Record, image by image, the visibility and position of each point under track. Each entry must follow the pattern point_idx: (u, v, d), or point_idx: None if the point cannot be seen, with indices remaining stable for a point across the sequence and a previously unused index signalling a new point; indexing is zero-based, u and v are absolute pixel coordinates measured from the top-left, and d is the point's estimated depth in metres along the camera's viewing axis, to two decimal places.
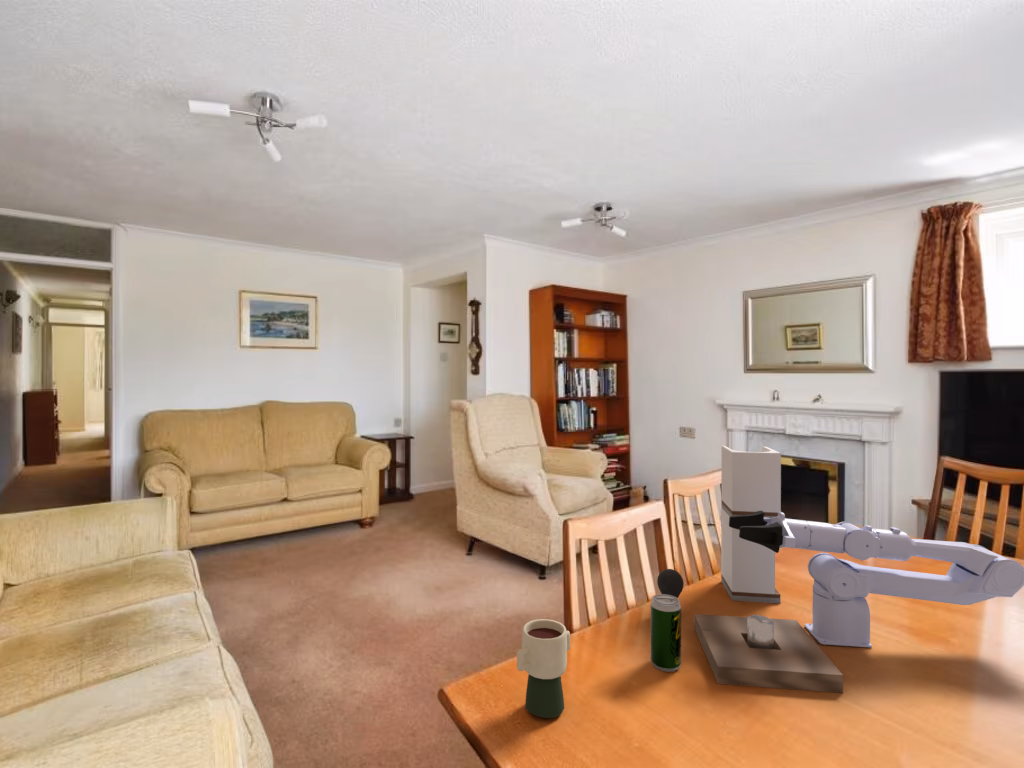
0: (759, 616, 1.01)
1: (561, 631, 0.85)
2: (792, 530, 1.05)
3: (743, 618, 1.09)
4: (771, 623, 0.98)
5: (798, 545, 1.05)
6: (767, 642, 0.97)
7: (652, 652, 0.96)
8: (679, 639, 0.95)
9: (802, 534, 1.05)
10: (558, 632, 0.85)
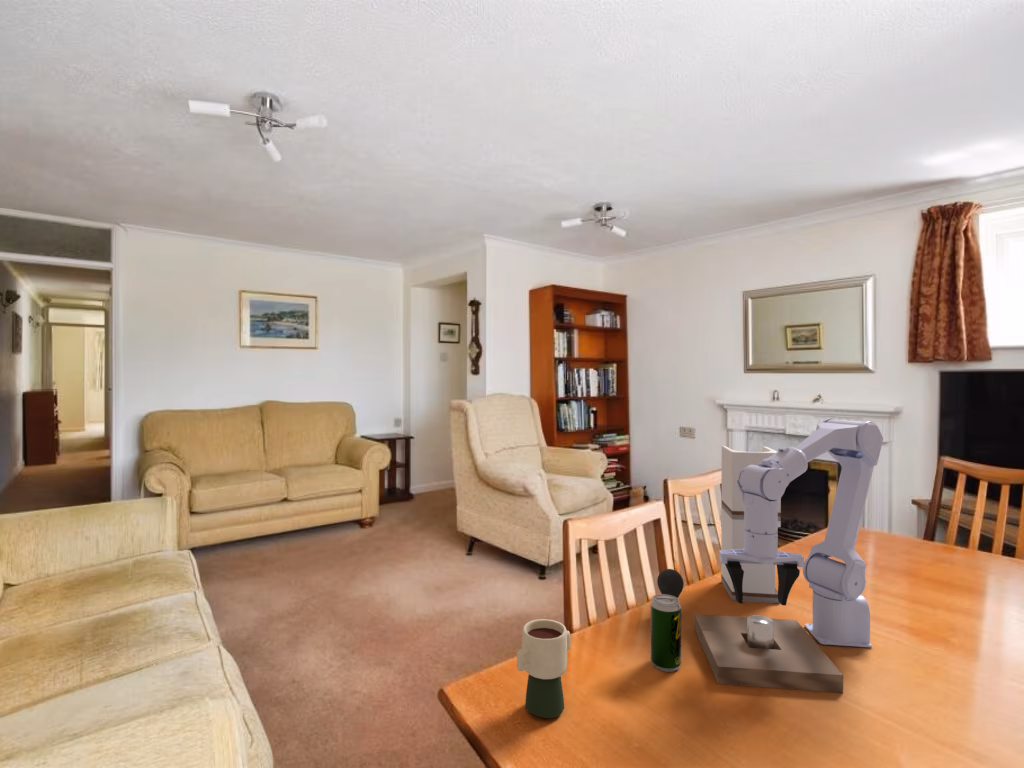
0: (759, 616, 1.01)
1: (561, 631, 0.85)
2: (777, 550, 0.97)
3: (743, 618, 1.09)
4: (771, 623, 0.98)
5: None
6: (767, 642, 0.97)
7: (652, 652, 0.96)
8: (679, 639, 0.95)
9: (777, 539, 0.98)
10: (558, 632, 0.85)
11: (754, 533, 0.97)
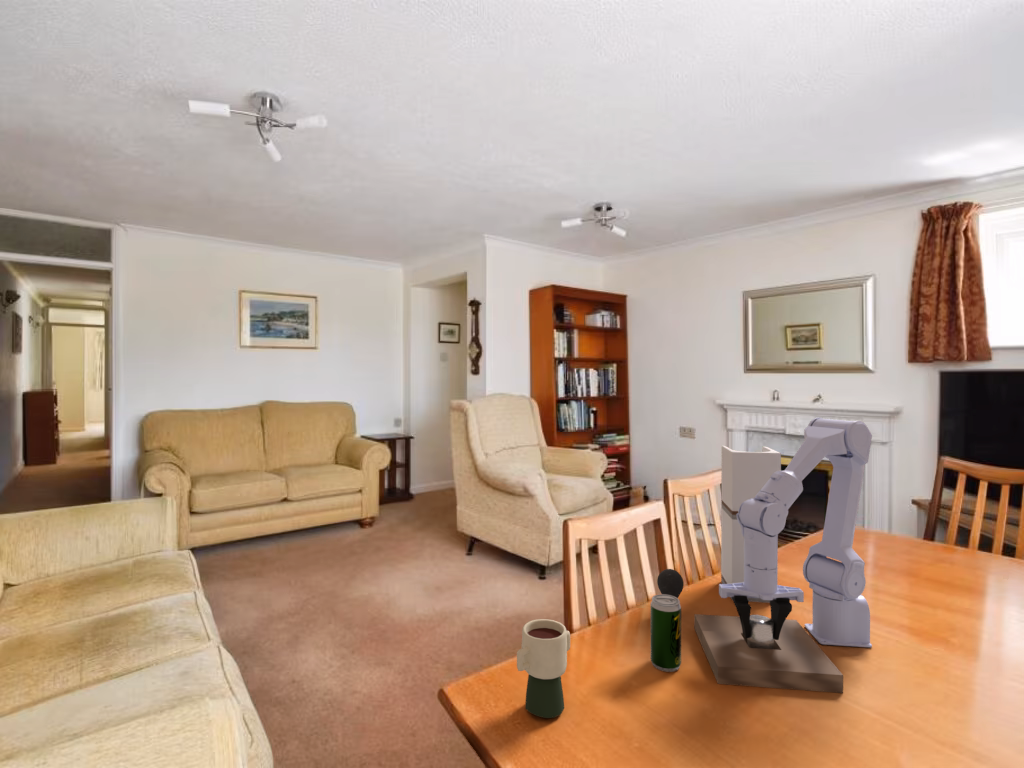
0: (759, 616, 1.01)
1: (561, 631, 0.85)
2: (777, 585, 0.97)
3: None
4: (771, 623, 0.98)
5: None
6: (767, 642, 0.97)
7: (652, 652, 0.96)
8: (679, 639, 0.95)
9: None
10: (558, 632, 0.85)
11: (754, 568, 0.97)
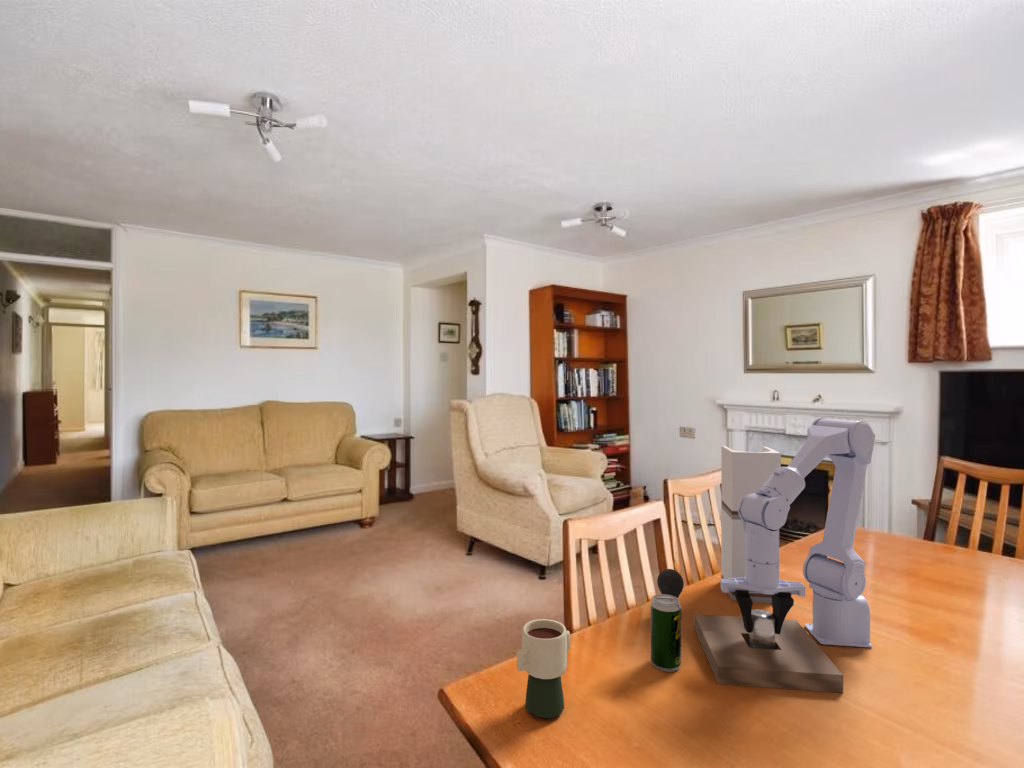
0: (761, 611, 1.01)
1: (561, 631, 0.85)
2: (778, 580, 0.97)
3: None
4: (773, 617, 0.98)
5: None
6: (769, 637, 0.97)
7: (652, 652, 0.96)
8: (679, 639, 0.95)
9: None
10: (558, 632, 0.85)
11: (755, 563, 0.97)
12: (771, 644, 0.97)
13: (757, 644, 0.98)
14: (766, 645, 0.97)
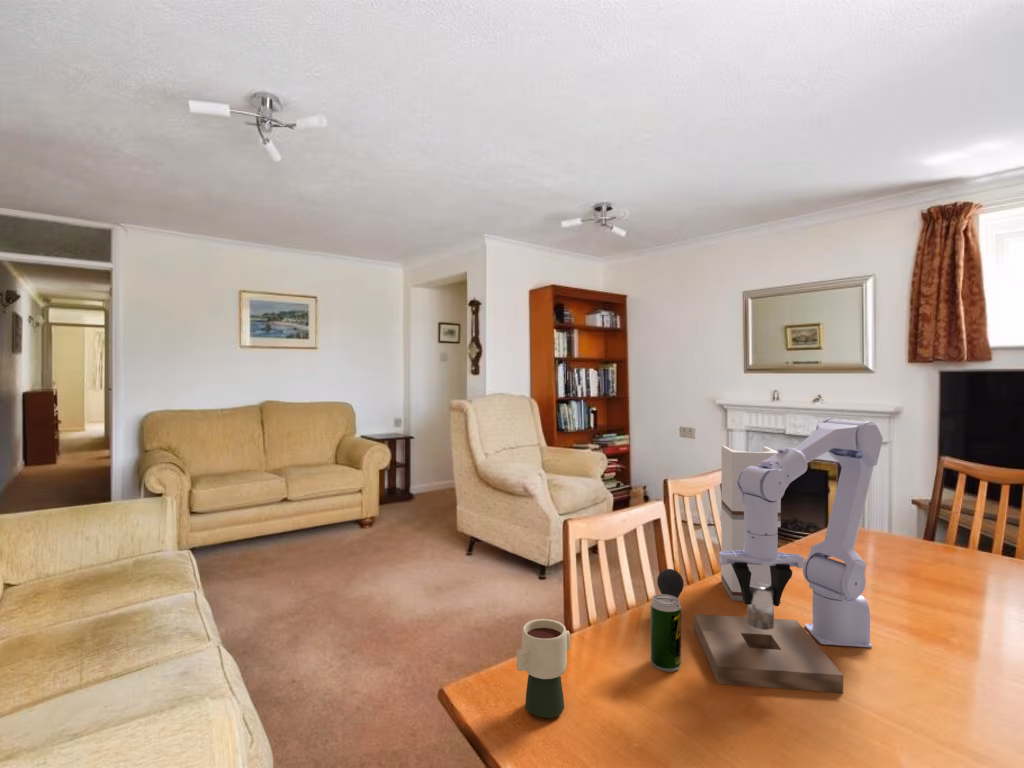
0: (759, 583, 1.01)
1: (561, 631, 0.85)
2: (777, 551, 0.97)
3: (743, 618, 1.09)
4: (771, 589, 0.98)
5: None
6: (768, 608, 0.97)
7: (652, 652, 0.96)
8: (679, 639, 0.95)
9: (777, 540, 0.98)
10: (558, 632, 0.85)
11: (754, 534, 0.97)
12: (770, 616, 0.97)
13: (756, 615, 0.98)
14: (765, 617, 0.97)
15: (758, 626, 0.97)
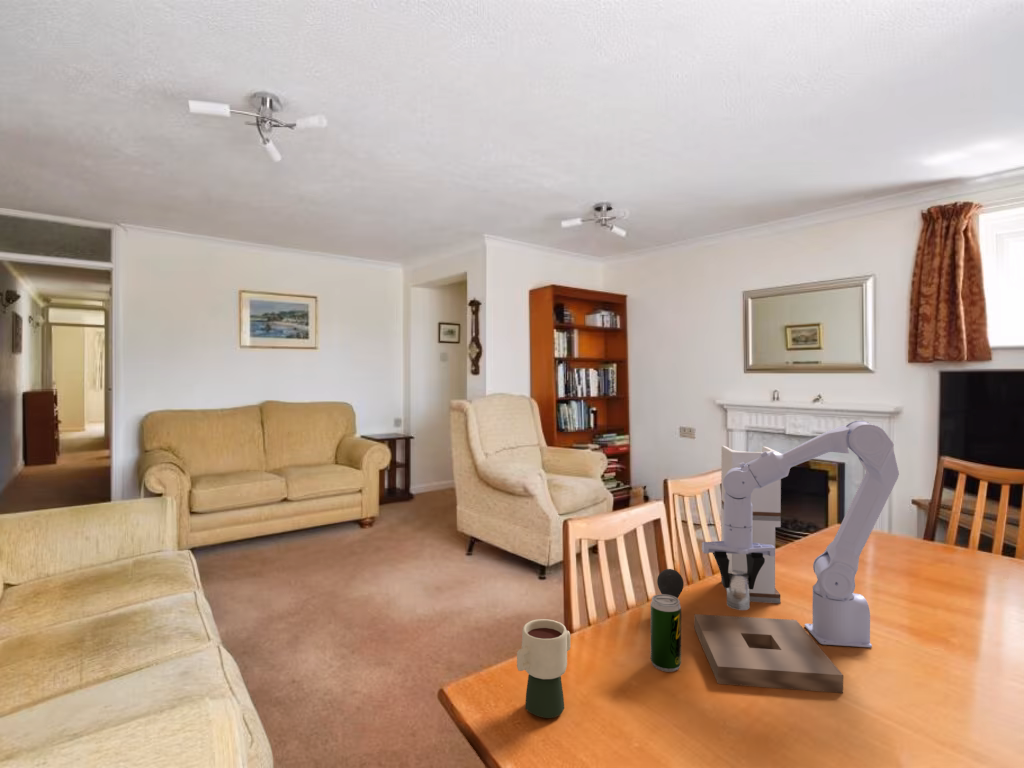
0: (737, 570, 1.15)
1: (561, 631, 0.85)
2: None
3: (743, 618, 1.09)
4: (747, 575, 1.13)
5: None
6: (744, 591, 1.12)
7: (652, 652, 0.96)
8: (679, 639, 0.95)
9: None
10: (558, 632, 0.85)
11: (732, 527, 1.12)
12: (745, 598, 1.12)
13: (734, 598, 1.12)
14: (741, 599, 1.12)
15: (736, 607, 1.12)
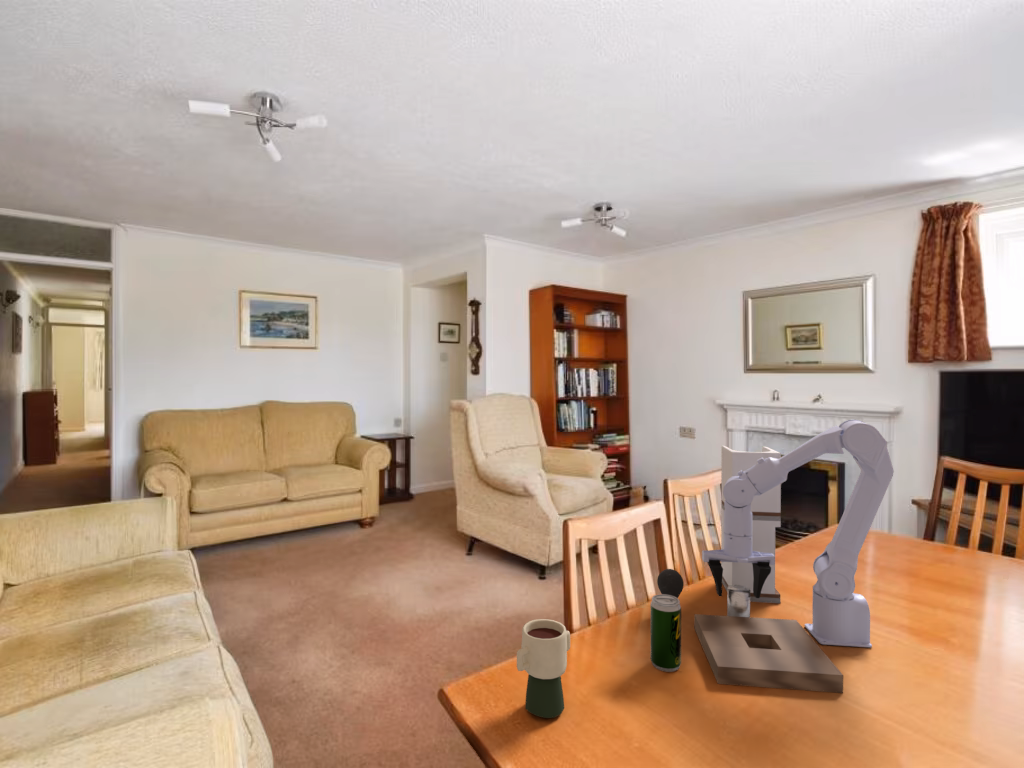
0: (738, 586, 1.15)
1: (561, 631, 0.85)
2: None
3: (743, 618, 1.09)
4: (748, 591, 1.12)
5: None
6: (744, 607, 1.11)
7: (652, 652, 0.96)
8: (679, 639, 0.95)
9: None
10: (558, 632, 0.85)
11: (732, 535, 1.12)
12: (746, 614, 1.12)
13: (734, 614, 1.12)
14: (742, 615, 1.12)
15: None
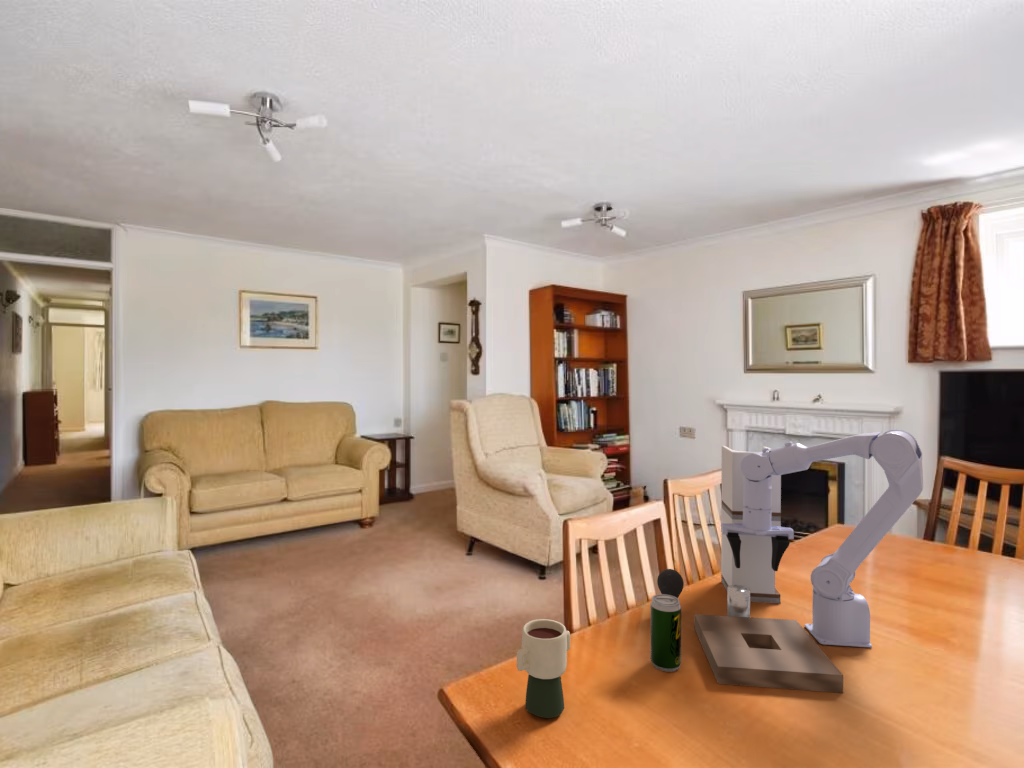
0: (738, 586, 1.15)
1: (561, 631, 0.85)
2: (770, 524, 1.15)
3: (743, 618, 1.09)
4: (748, 591, 1.12)
5: None
6: (744, 608, 1.11)
7: (652, 652, 0.96)
8: (679, 639, 0.95)
9: None
10: (558, 632, 0.85)
11: (751, 509, 1.14)
12: (746, 614, 1.12)
13: (734, 614, 1.12)
14: (742, 615, 1.12)
15: None
